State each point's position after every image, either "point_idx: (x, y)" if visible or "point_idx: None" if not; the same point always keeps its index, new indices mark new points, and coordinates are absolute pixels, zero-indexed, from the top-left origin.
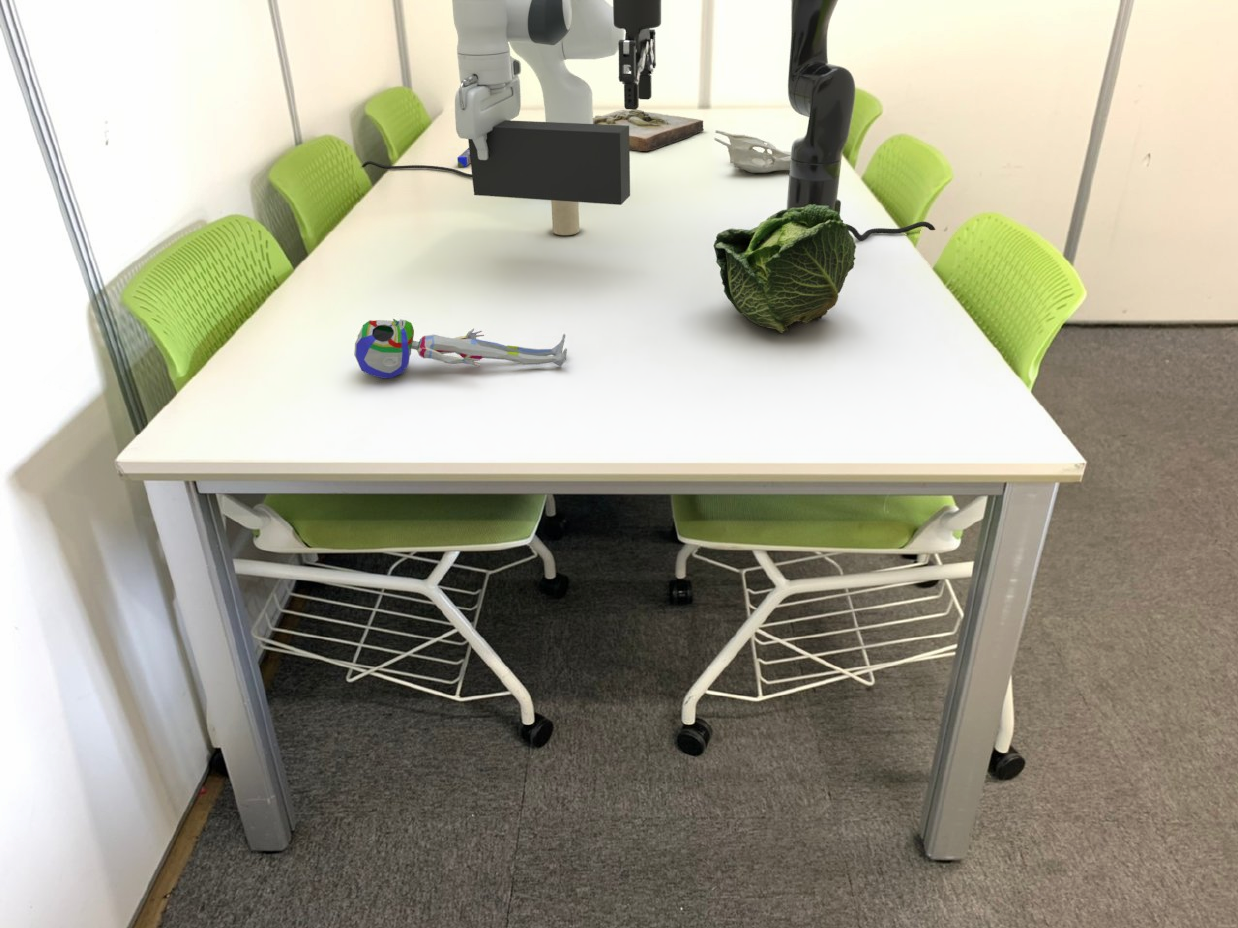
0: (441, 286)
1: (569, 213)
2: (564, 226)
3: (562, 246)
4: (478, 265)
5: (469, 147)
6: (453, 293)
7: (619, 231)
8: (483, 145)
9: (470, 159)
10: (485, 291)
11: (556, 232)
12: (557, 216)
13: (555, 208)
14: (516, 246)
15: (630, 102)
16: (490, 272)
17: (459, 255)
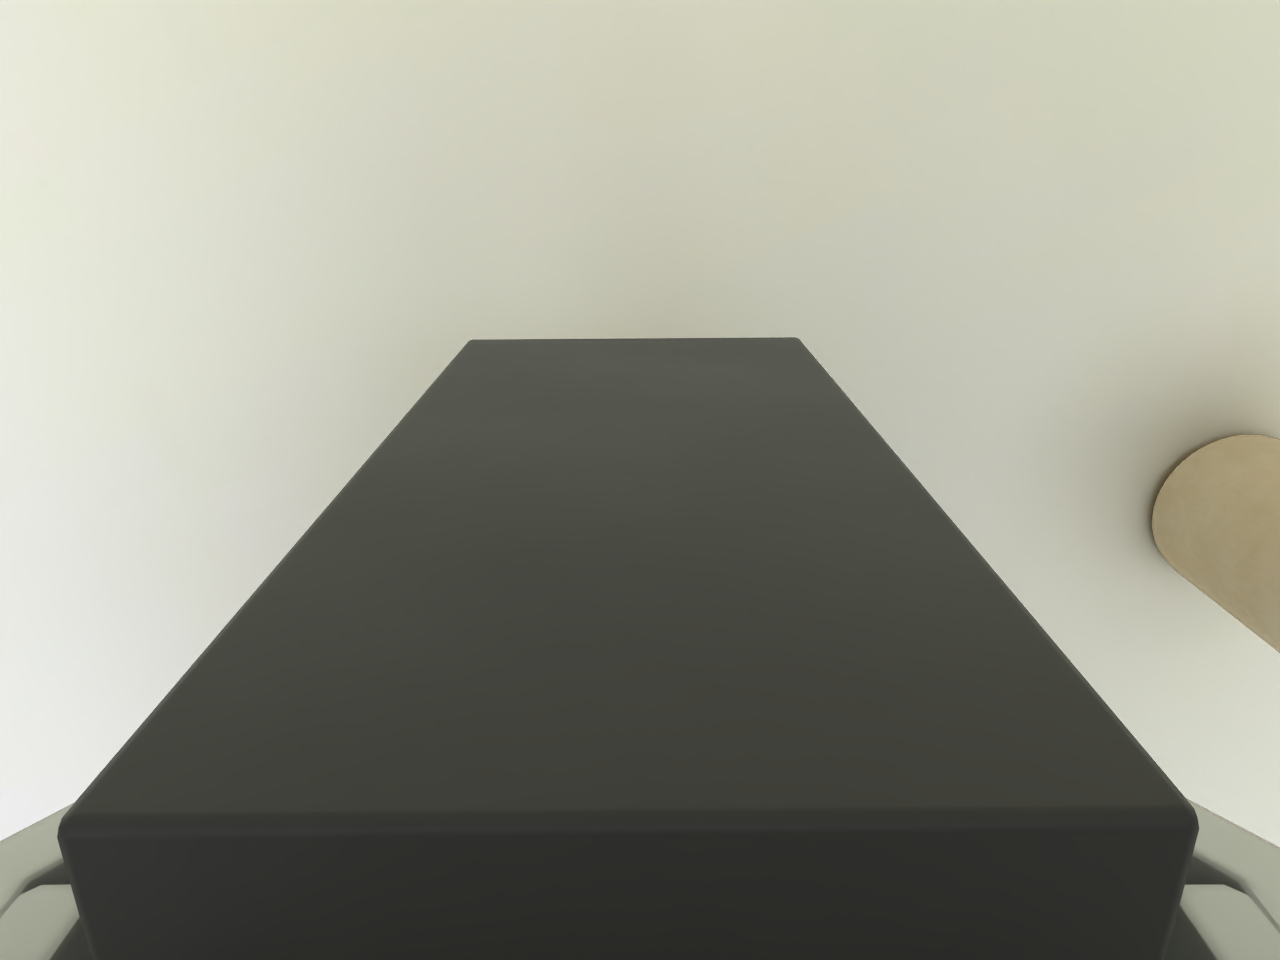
0: (175, 152)
1: (1238, 615)
2: (1179, 549)
3: None
4: (567, 219)
5: (302, 545)
6: (114, 273)
7: (1251, 754)
8: None
9: (366, 462)
10: (215, 428)
11: (1175, 479)
12: (1228, 533)
13: (1267, 544)
14: (942, 311)
15: None
16: (480, 339)
17: (710, 4)
